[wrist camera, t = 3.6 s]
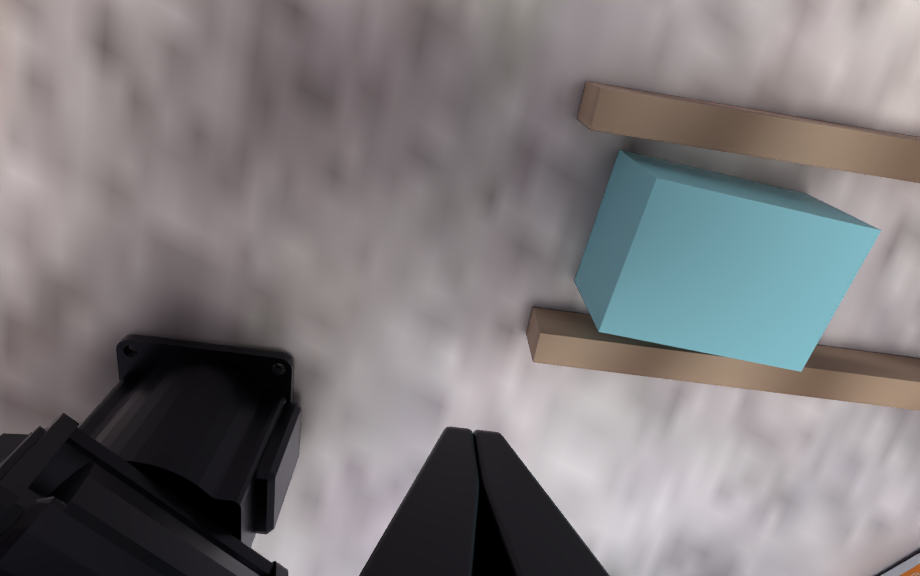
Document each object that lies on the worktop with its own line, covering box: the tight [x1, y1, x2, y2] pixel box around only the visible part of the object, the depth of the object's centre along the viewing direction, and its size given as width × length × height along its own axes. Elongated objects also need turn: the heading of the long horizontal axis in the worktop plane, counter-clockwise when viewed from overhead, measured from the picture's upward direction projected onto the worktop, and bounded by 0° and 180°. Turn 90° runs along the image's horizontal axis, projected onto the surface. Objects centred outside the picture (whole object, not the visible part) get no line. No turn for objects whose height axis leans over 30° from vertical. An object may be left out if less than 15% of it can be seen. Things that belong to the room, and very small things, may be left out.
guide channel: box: [526, 81, 920, 410], centre depth 20 cm, size 20×9×3 cm, turn 81°
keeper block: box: [574, 150, 881, 372], centre depth 19 cm, size 7×5×4 cm
